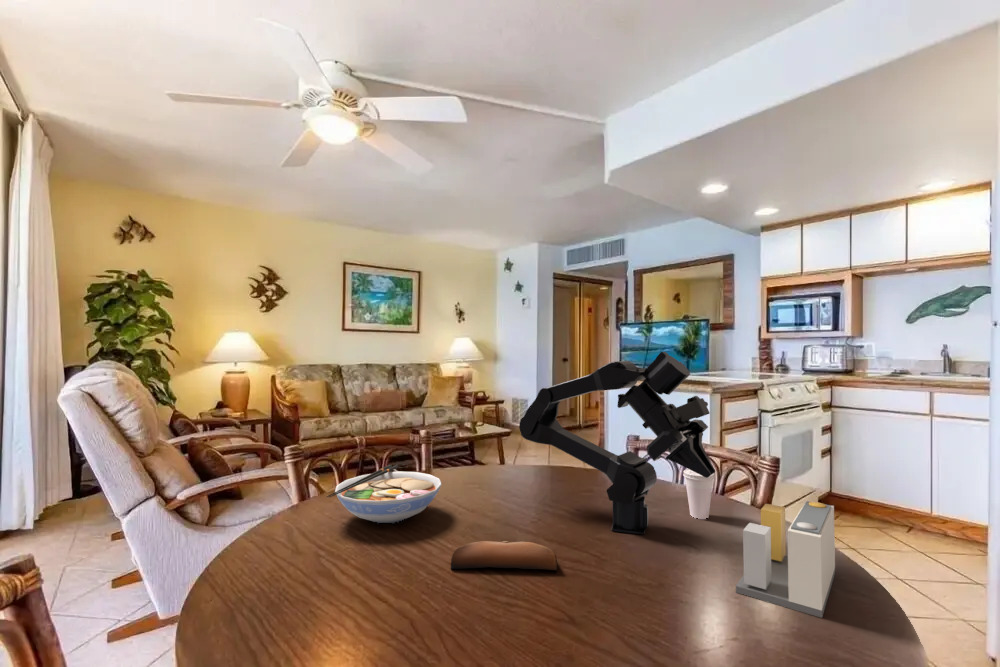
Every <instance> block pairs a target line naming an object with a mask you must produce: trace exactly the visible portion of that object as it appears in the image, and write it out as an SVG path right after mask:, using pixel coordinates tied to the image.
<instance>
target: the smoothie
mask: <svg viewBox="0 0 1000 667" xmlns="http://www.w3.org/2000/svg"><path fill="white" fill-rule="evenodd" d="M682 475H683V477H684V479H685V486H686V495H687V500H688V501H687V502H688V506H689V507H688V508H689V515H691V516H692V517H691V516H690V517H691V518H693V517H694V518H693V519H696V518H698V519H697V520H707V519H706V518H708V519H709V516H710V508H711V507H710V506H711V498H712V491H713V483H714V482H713V481H714V479H715V473H713V474H712V475H710V476H709V477H708V478H706V477H704V476H702V475H700V474H698V473H696V472H694V471H692V470H690V469H688V468H686V469H684V470H683V474H682Z"/></svg>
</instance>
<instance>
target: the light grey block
mask: <svg viewBox="0 0 1000 667" xmlns="http://www.w3.org/2000/svg"><path fill="white" fill-rule="evenodd" d="M742 540H743V541H742V542H743V544H742V545H743V548H742V550H743V551H742V552H743V554H742V555H743V557H742V558H743V575H744V584H748V585H751V586H755V587H759V588H762V589H767V587H768V585H769V583H770V581H771V580H772V576H771V527H767V526H763V525H761V524H757V523H754V522H748V524H747V525H746V526H745V527H744V529H742Z"/></svg>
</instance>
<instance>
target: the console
mask: <svg viewBox="0 0 1000 667" xmlns="http://www.w3.org/2000/svg"><path fill="white" fill-rule="evenodd" d="M791 522H792V523H791V524H790V526H789V527H788V529H786V530H787V555H786V554H785V556H784V558H783V560H782V562H781V561H777V560H773V559H771V576H772V580H771V581H770V583H769V585H768V587H767V589H762V588H759V587H755V586H751V585H748V584H744V574H743V575H742V576H741V578H740V580H738V582H737V583H736V584H735V593H736V594H739V595H743V594H744V596H746V595H747V596H746V597H749V596H751V597H750V598H753V597H754V598H753V599H756V598H758V599H757V600H759V599H760V600H759V601H763V602H766V601H767V603H770V604H774V605H777V606H780V607H784V608H787V609H790V610H793V611H797V612H799V613H803V614H808V615H810V616H815V617H817V618H821V619H823V617H824V613H825V609H826V606H827V603H828V598H829V595H830V592H831V589H832V585H833V582H834V579H835V576H836V550H835V549H836V548H835V547H836V544H835V542H836V541H835V538H836V537H835V505H831V504H825V503H823V502H822V503H821V502H816V501H806V500H805V501H804V503H803V505H802V506H801V508H800V510H799V511H798V513H797V514H796V516H795V518H794V519H793V521H791Z"/></svg>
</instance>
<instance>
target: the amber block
mask: <svg viewBox="0 0 1000 667" xmlns="http://www.w3.org/2000/svg"><path fill="white" fill-rule="evenodd" d="M760 525H763V526H767V527H771V559H773V560H777V561H781V562H782V560H783V558H784V556H785V555H786V554H787V547H786V546H787V541H786V539H787V538H786V530H787V529H786V507H785V506H781V505H776V504H771V503H765V504H764V505H763V506H762V507H761V508H760Z"/></svg>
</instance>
